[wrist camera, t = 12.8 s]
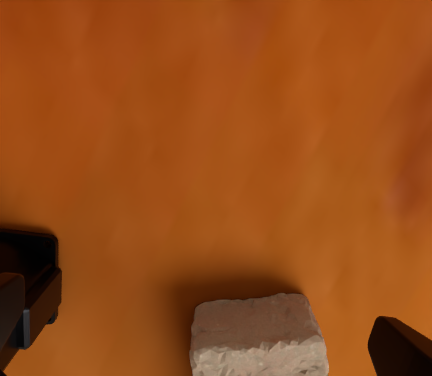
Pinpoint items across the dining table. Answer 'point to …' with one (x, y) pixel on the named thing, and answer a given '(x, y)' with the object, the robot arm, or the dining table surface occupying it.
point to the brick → (257, 338)
